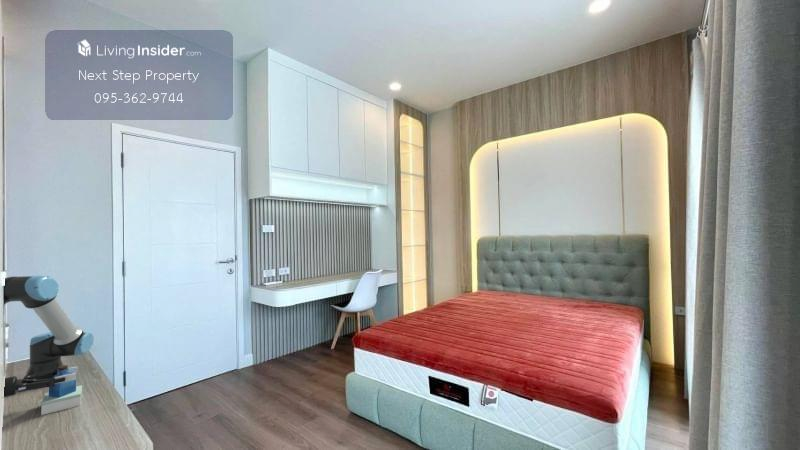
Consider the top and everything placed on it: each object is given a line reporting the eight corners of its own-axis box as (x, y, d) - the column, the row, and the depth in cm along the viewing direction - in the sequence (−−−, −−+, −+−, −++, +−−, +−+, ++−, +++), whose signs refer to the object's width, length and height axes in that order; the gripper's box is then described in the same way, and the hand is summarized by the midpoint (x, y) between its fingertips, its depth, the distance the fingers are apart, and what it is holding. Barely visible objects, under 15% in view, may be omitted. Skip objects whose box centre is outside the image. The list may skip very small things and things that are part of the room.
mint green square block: (45, 404, 150) (45, 393, 151) (81, 395, 158) (82, 385, 159) (41, 415, 141) (41, 403, 142) (80, 405, 149) (80, 393, 150)
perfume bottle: (59, 397, 146) (60, 369, 147) (48, 396, 148) (49, 368, 148) (75, 391, 152) (76, 364, 153) (65, 389, 154) (65, 363, 154)
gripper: (7, 388, 147) (78, 373, 161) (-6, 407, 130) (75, 389, 145) (7, 371, 147) (78, 358, 162) (-5, 387, 130) (75, 371, 145)
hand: (76, 372), depth 153 cm, fingers open, 10 cm apart
